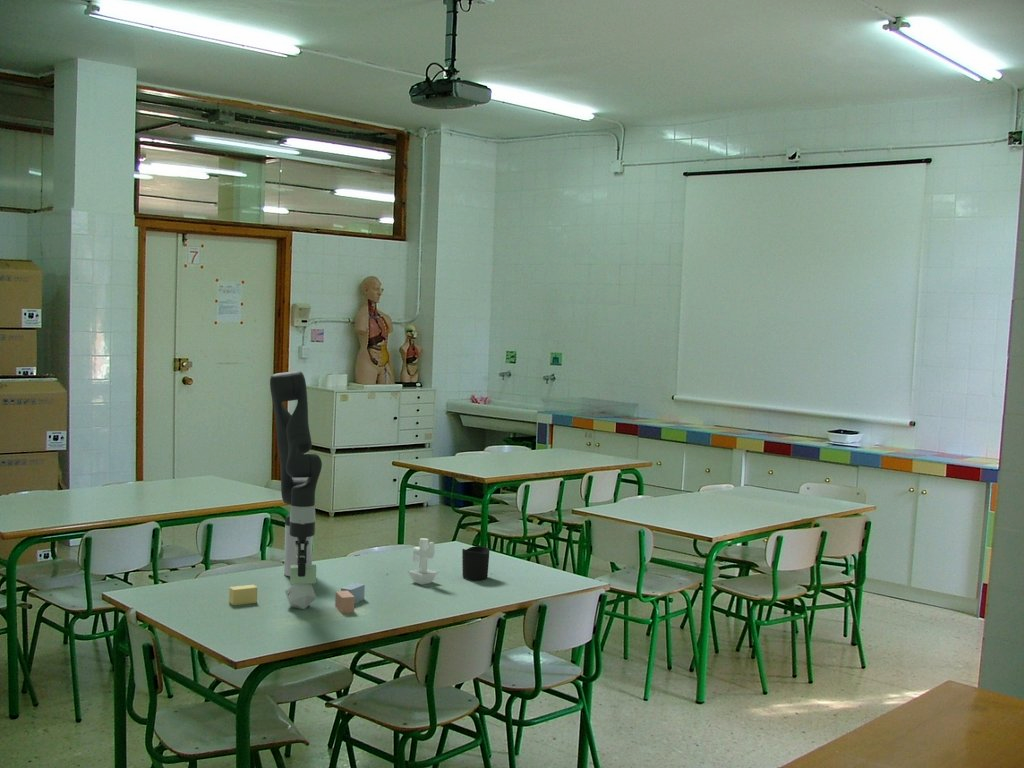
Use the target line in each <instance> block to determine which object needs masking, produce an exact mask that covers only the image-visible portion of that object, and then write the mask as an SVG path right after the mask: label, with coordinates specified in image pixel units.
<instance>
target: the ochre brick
mask: <svg viewBox="0 0 1024 768" xmlns="http://www.w3.org/2000/svg"><path fill="white" fill-rule="evenodd" d="M228 590H229V591H228V594H229V595H228V603H229V604H231V605H232V606H237V605H240V606H241V605H247V604H255V603H258V586H256V585H255V584H246V585H236V586H229V589H228Z"/></svg>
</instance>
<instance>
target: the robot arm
mask: <svg viewBox="0 0 1024 768" xmlns="http://www.w3.org/2000/svg"><path fill="white" fill-rule="evenodd" d="M269 387H270V395H271V399H272V406H273V411H274V417H275V429H276V430H275V431H276V434H275V435H276V443H277V450H278V456H279V457H278V458H279V465H280V488H281V489H280V491H281V492H280V493H281V494H280V495H281V499H282V501H283V503H284V504H286V505H290V511H289V514H288V515H286V516H285V523H284V528H285V529H284V562H283V563H284V564H283V565H284V566H283V575H284V576H286V577H290V576H291V565H298V576H299V577H304V576H305V570H306V565H313V536H315V534H316V508H315V507H316V506H315V504H316V490H317V484H318V482H319V481H318V480H319V479H320V478H319V477H320V475H321V472H322V468H323V462H322V458H321V457H320V456H319V455H318V454H315V453H308V452H310V450H311V449H312V445H313V443H312V438H311V431H310V427H309V426H310V425H309V407H308V391H307V390H308V389H307V383H306V378H305V375H304V374H303V372H302V371H297V370H296V371H295V370H294V371H287V372H277V373H274V374H272V375H271V376H270V378H269ZM292 401H297V404H296V407H295V409H294V411H293V412H292V414H291V413H290V412H289V411H288V409H287V408H286V406H285V404H284V402H292Z"/></svg>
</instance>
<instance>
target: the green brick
mask: <svg viewBox="0 0 1024 768" xmlns="http://www.w3.org/2000/svg"><path fill="white" fill-rule="evenodd" d="M289 578H290V579H289V583H290V585H292V584H304V583H311V584H316V583H317V564H312V565H306V570H305V576H304V577H299V576H298V565H291V576H289Z"/></svg>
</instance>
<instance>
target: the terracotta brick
mask: <svg viewBox="0 0 1024 768" xmlns="http://www.w3.org/2000/svg"><path fill="white" fill-rule="evenodd" d="M334 594H335V595H334V596H335V600H334V601H335V603H334V607H335V608H336V609H337V610H338V611H339V612H340V613H341V614H350V613H355V603H354V596H353V595H352V594H351V593H350V592H349V591H341V590H338V591H335V593H334Z"/></svg>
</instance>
